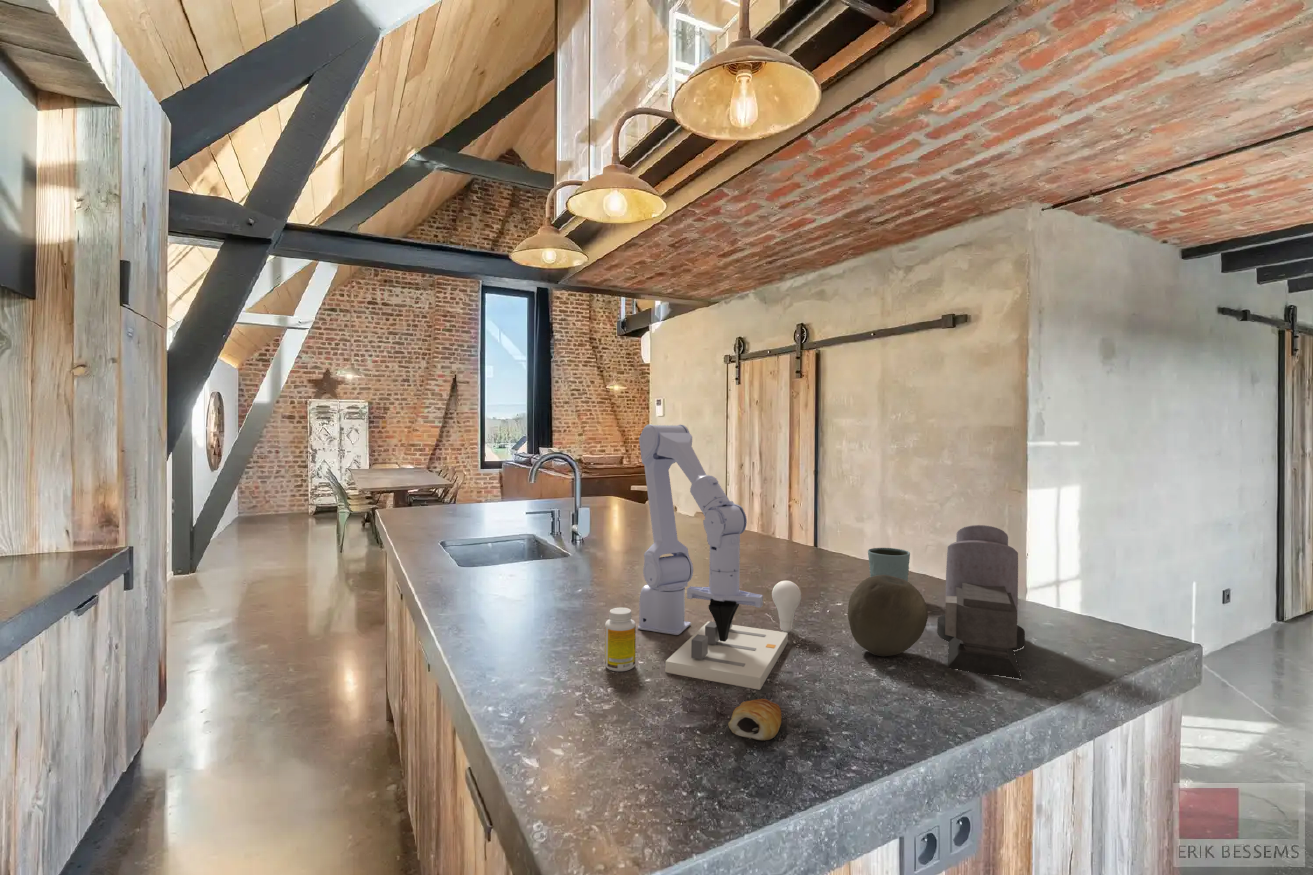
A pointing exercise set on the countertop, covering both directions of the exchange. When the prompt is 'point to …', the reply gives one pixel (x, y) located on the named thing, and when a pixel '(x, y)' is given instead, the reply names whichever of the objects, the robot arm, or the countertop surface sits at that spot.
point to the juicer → (982, 603)
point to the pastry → (756, 719)
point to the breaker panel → (732, 657)
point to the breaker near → (699, 646)
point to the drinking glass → (889, 562)
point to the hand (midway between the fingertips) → (723, 639)
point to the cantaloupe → (886, 615)
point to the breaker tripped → (712, 633)
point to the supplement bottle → (620, 640)
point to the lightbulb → (786, 602)
